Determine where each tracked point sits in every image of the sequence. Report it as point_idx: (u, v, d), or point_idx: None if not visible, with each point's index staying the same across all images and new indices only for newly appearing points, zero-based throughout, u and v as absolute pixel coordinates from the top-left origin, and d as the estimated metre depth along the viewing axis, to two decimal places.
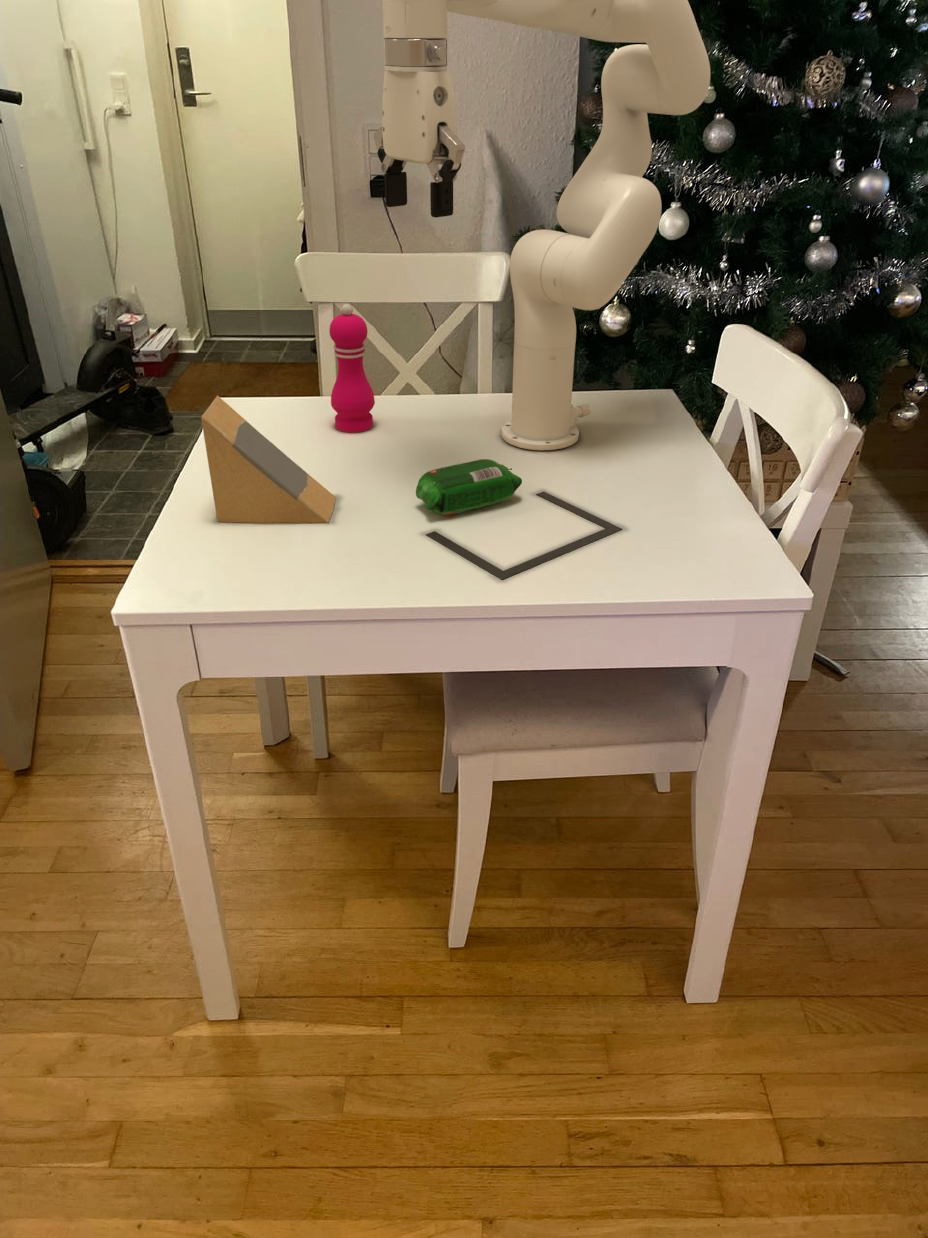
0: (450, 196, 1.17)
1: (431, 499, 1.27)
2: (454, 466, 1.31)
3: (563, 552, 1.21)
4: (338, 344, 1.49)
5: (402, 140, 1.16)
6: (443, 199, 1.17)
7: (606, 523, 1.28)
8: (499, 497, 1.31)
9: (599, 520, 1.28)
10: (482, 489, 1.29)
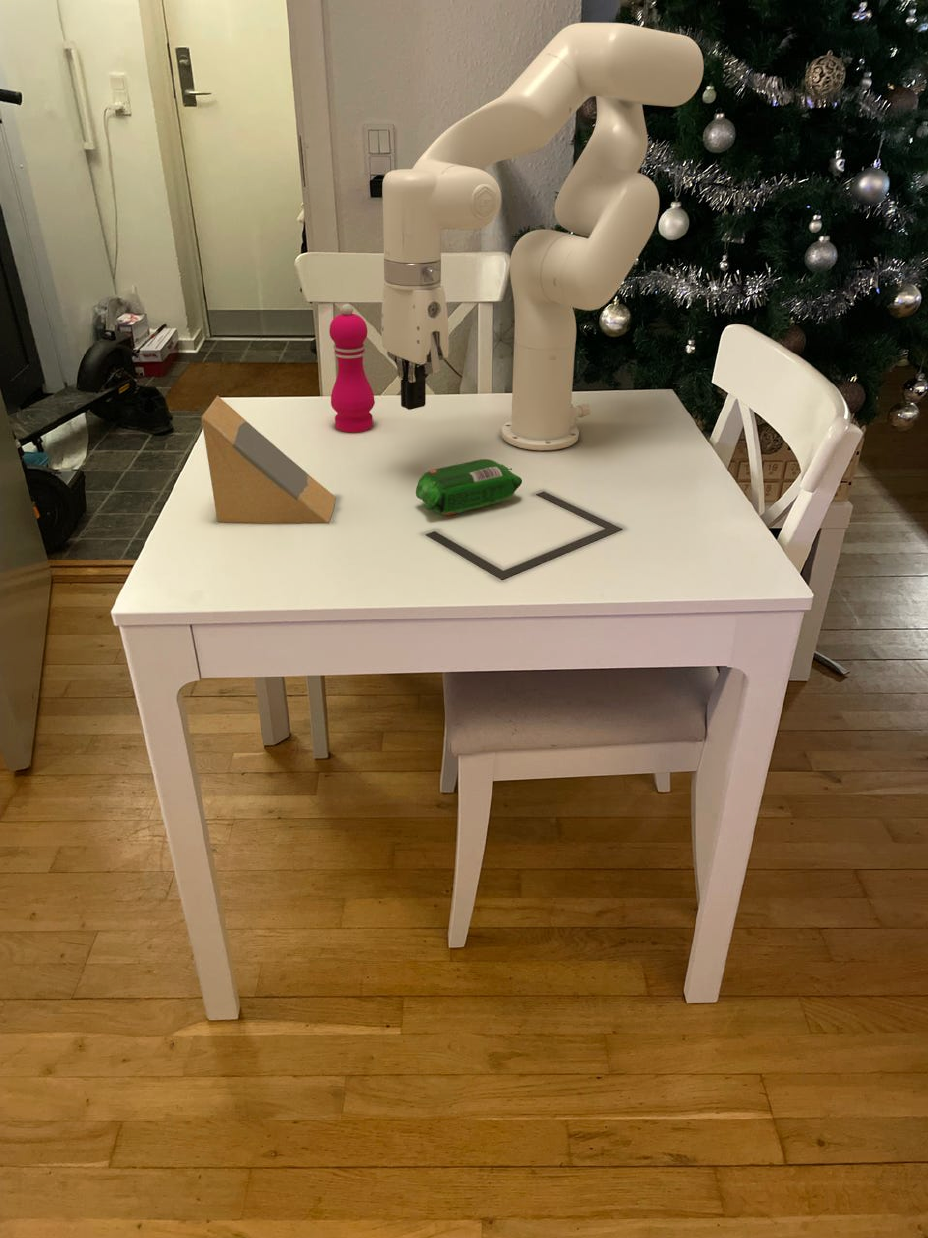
0: (422, 392, 1.33)
1: (431, 499, 1.27)
2: (454, 466, 1.31)
3: (563, 552, 1.21)
4: (338, 344, 1.49)
5: (399, 342, 1.28)
6: (416, 395, 1.32)
7: (606, 523, 1.28)
8: (499, 497, 1.31)
9: (599, 520, 1.28)
10: (482, 489, 1.29)
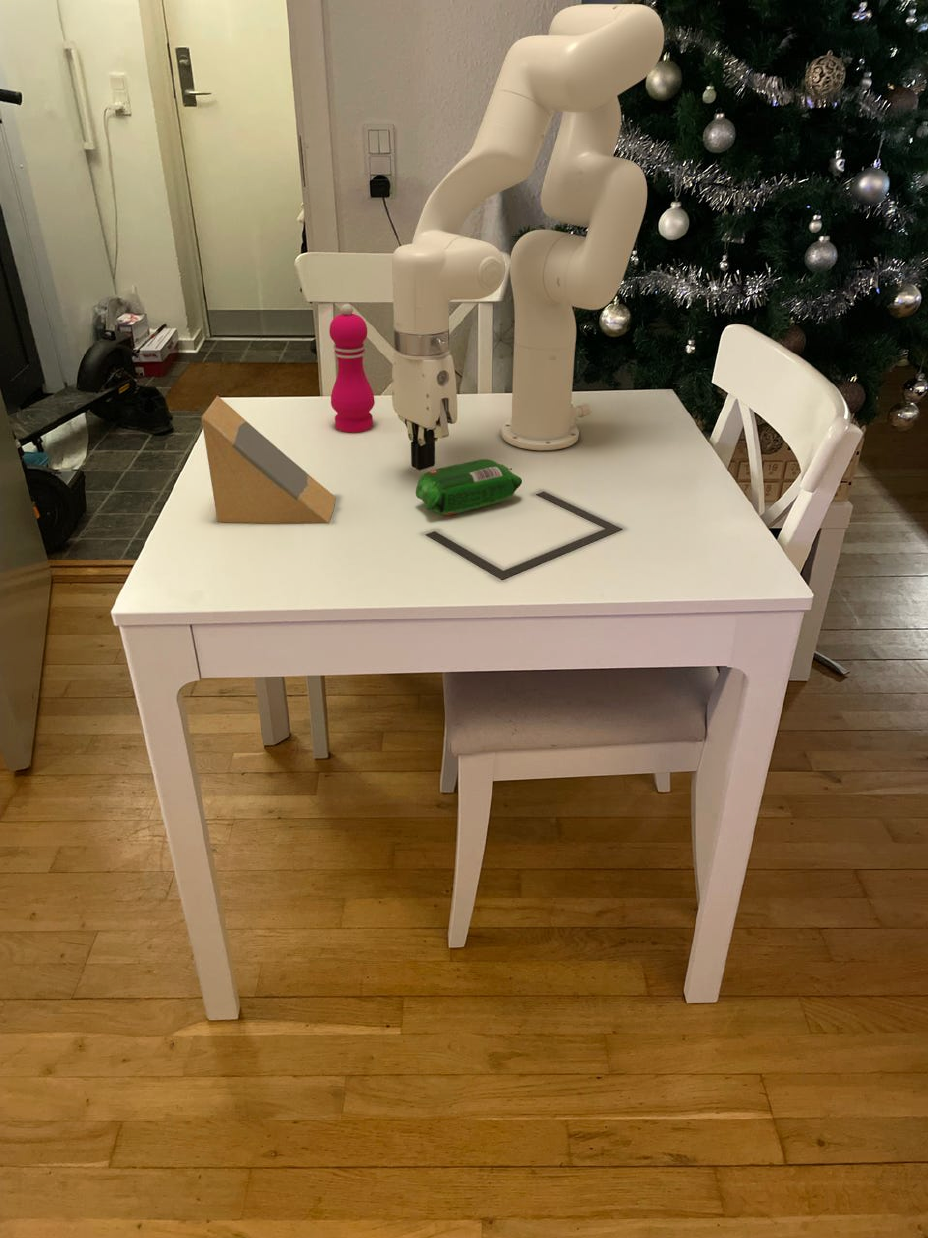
0: (432, 454, 1.37)
1: (431, 499, 1.27)
2: (454, 466, 1.31)
3: (563, 552, 1.21)
4: (338, 344, 1.49)
5: (409, 407, 1.32)
6: (426, 457, 1.36)
7: (606, 523, 1.28)
8: (499, 497, 1.31)
9: (599, 520, 1.28)
10: (482, 489, 1.29)
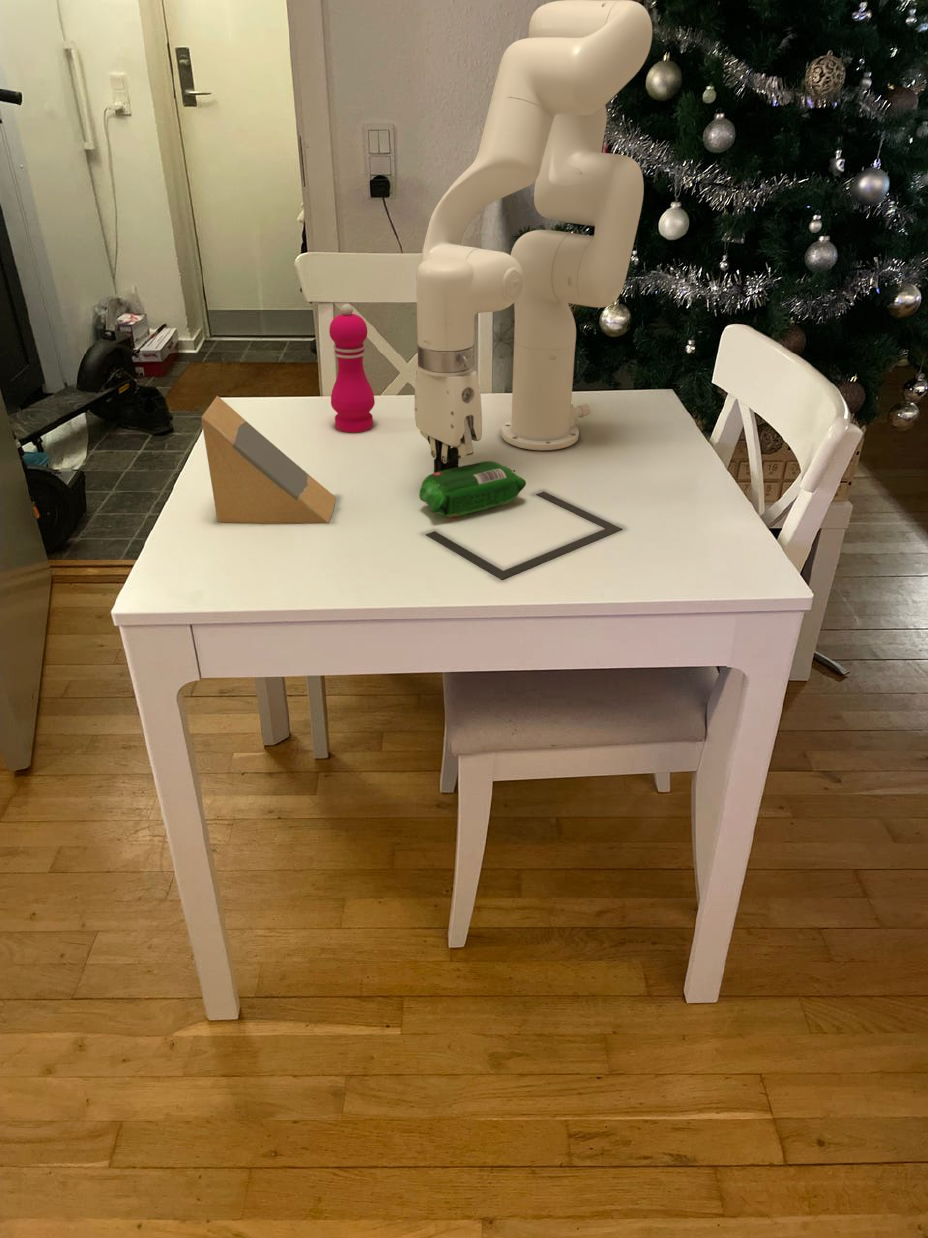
0: None
1: (436, 502, 1.26)
2: (458, 468, 1.31)
3: (563, 552, 1.21)
4: (338, 344, 1.49)
5: (433, 424, 1.29)
6: None
7: (606, 523, 1.28)
8: (503, 499, 1.30)
9: (599, 520, 1.28)
10: (487, 491, 1.28)
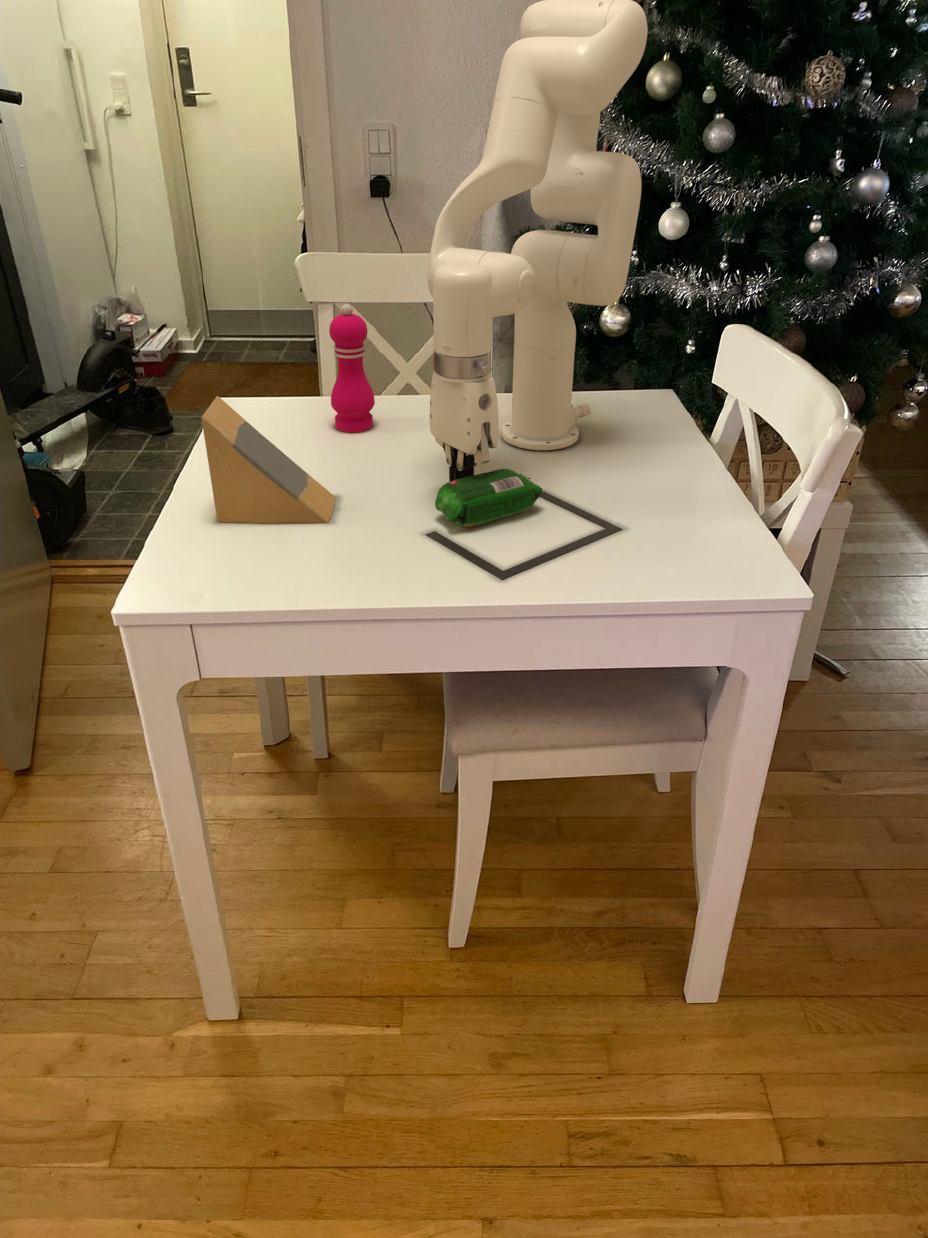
0: None
1: (453, 511, 1.24)
2: (473, 476, 1.28)
3: (563, 552, 1.21)
4: (338, 344, 1.49)
5: (448, 431, 1.27)
6: None
7: (606, 523, 1.28)
8: (520, 507, 1.28)
9: (599, 520, 1.28)
10: (504, 500, 1.26)
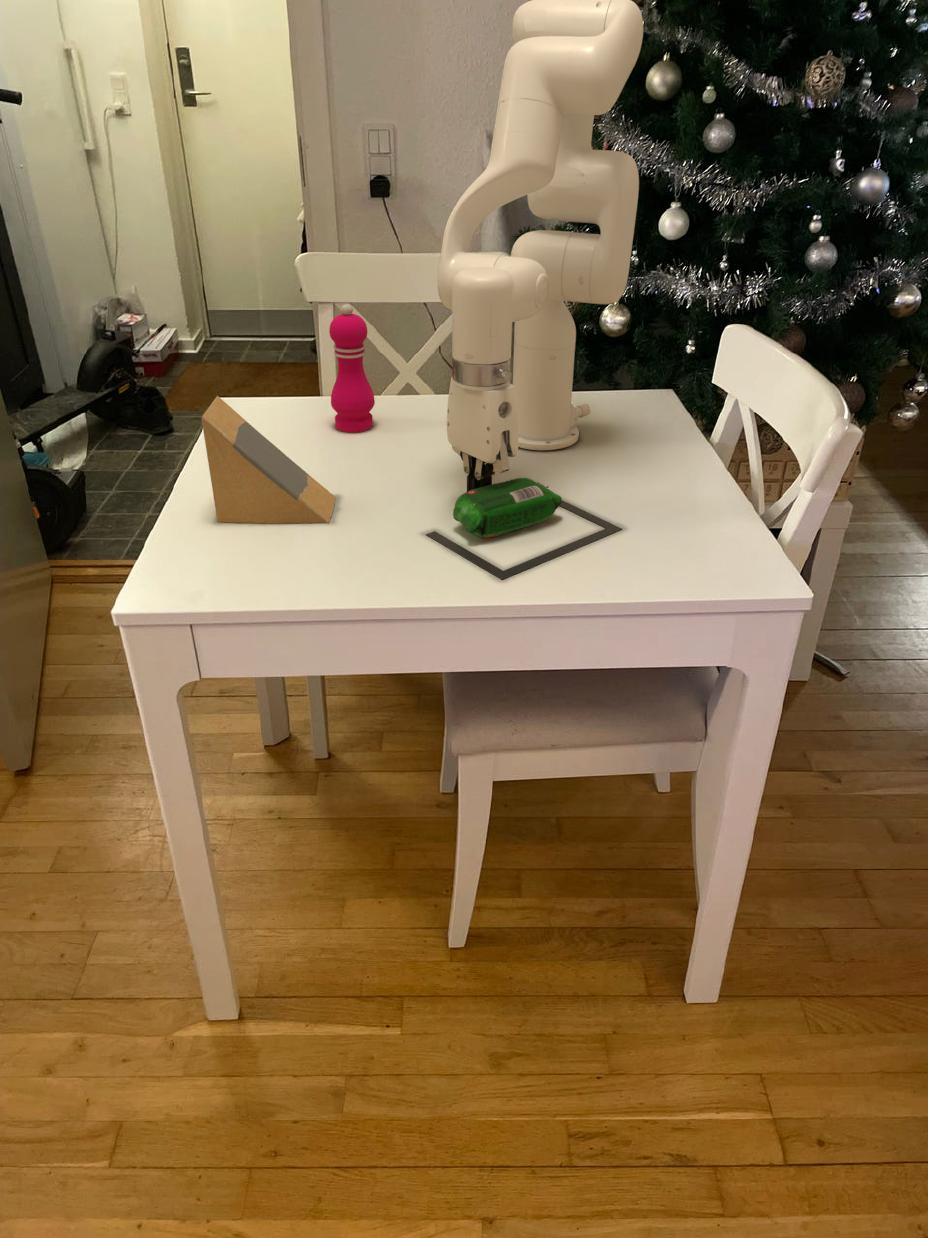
0: None
1: (473, 522, 1.21)
2: (492, 486, 1.26)
3: (563, 552, 1.21)
4: (338, 344, 1.49)
5: (467, 439, 1.24)
6: None
7: (606, 523, 1.28)
8: (540, 517, 1.26)
9: (599, 520, 1.28)
10: (524, 510, 1.23)
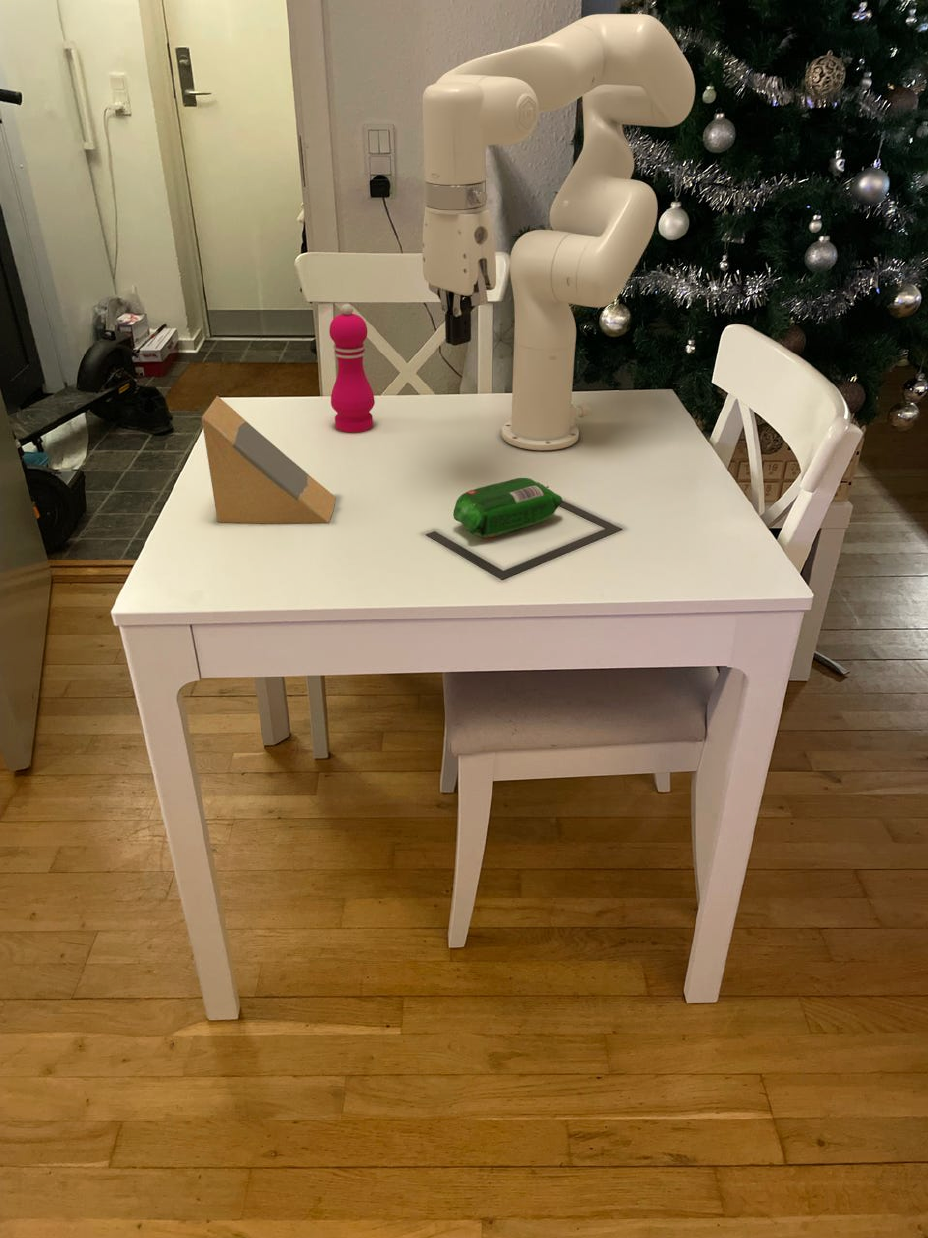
0: (468, 326, 1.26)
1: (473, 522, 1.21)
2: (492, 486, 1.26)
3: (563, 552, 1.21)
4: (338, 344, 1.49)
5: (443, 272, 1.21)
6: (462, 330, 1.26)
7: (606, 523, 1.28)
8: (540, 517, 1.26)
9: (599, 520, 1.28)
10: (524, 510, 1.23)
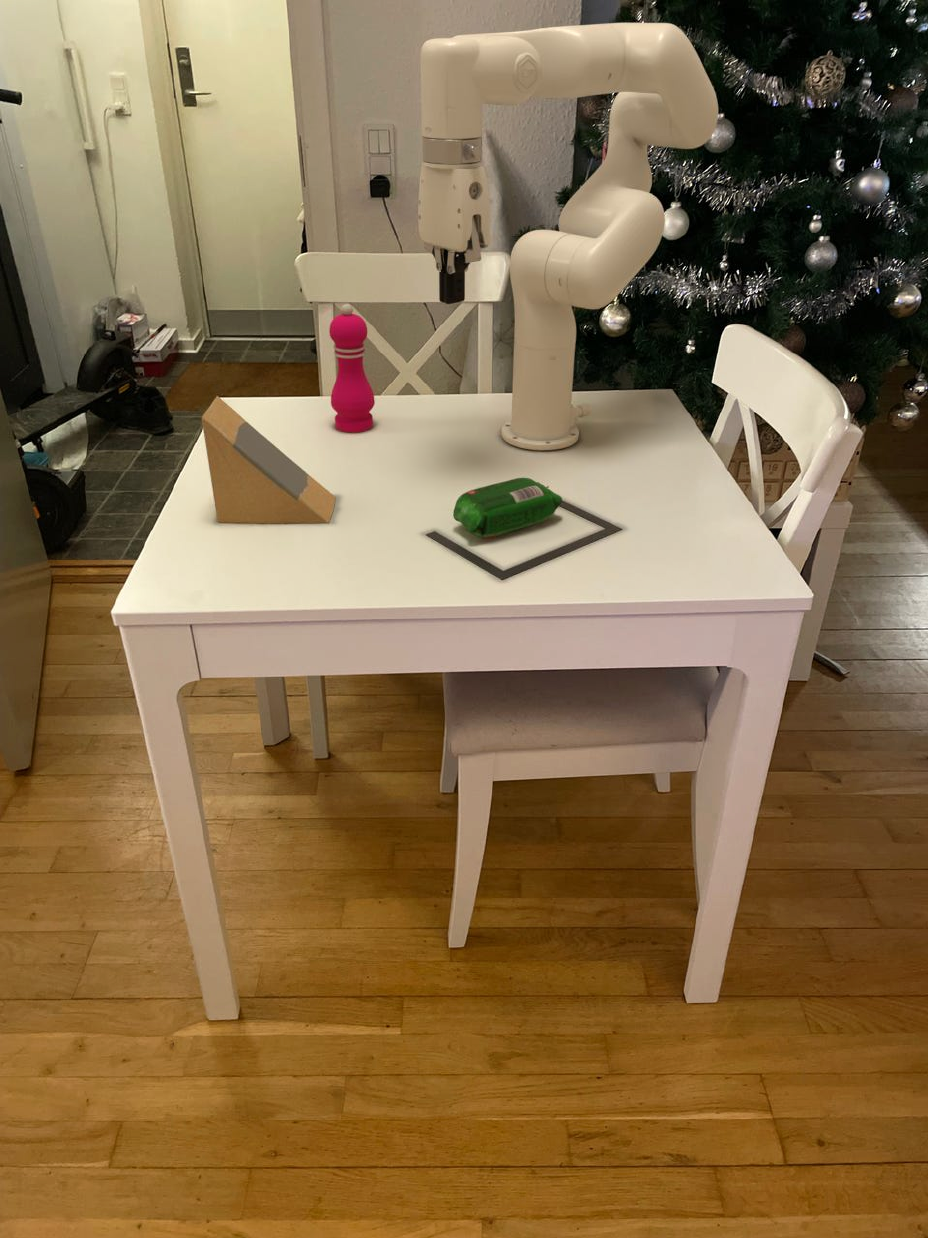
0: (462, 285, 1.27)
1: (473, 522, 1.21)
2: (492, 486, 1.26)
3: (563, 552, 1.21)
4: (338, 344, 1.49)
5: (438, 229, 1.22)
6: (455, 288, 1.27)
7: (606, 523, 1.28)
8: (540, 517, 1.26)
9: (599, 520, 1.28)
10: (524, 510, 1.23)
